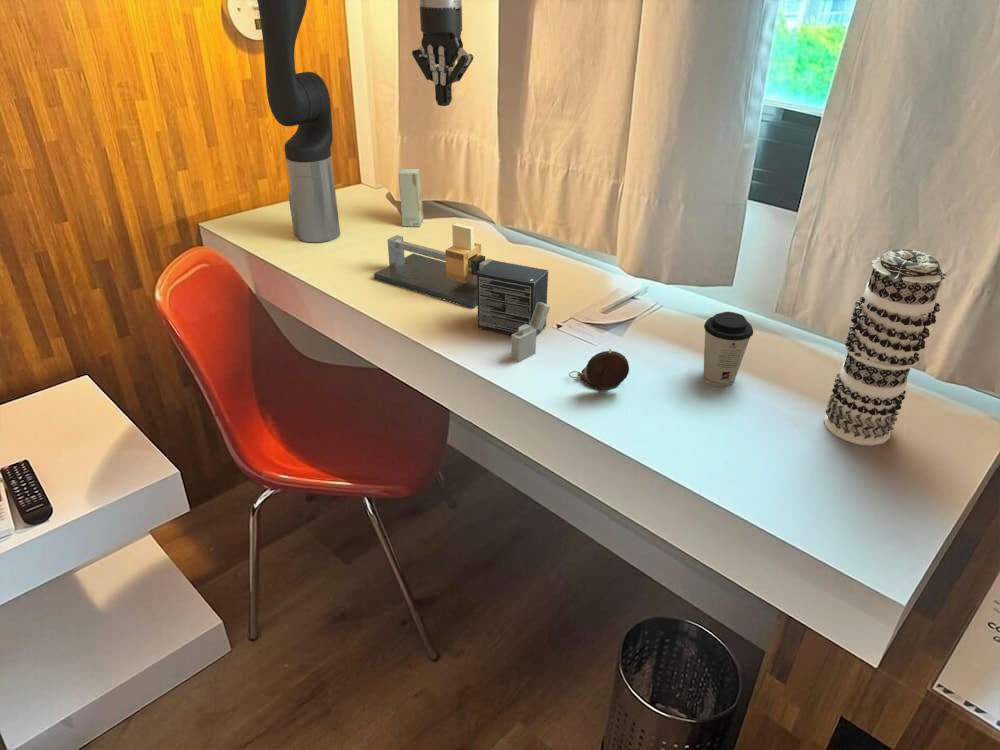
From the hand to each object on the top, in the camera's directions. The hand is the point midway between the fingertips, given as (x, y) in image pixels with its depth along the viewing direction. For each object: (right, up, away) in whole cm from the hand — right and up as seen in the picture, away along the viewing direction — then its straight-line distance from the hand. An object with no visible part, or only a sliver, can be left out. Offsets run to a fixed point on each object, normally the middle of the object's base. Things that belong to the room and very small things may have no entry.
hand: (443, 105), depth 138 cm
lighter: (+16, -48, -22) cm, 55 cm away
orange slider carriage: (+4, -33, -3) cm, 33 cm away
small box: (+13, -44, -14) cm, 48 cm away
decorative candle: (+60, -59, -39) cm, 92 cm away
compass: (+25, -53, -29) cm, 65 cm away
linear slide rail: (-1, -34, +1) cm, 34 cm away
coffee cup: (+44, -52, -28) cm, 74 cm away
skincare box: (-9, -17, +29) cm, 34 cm away
